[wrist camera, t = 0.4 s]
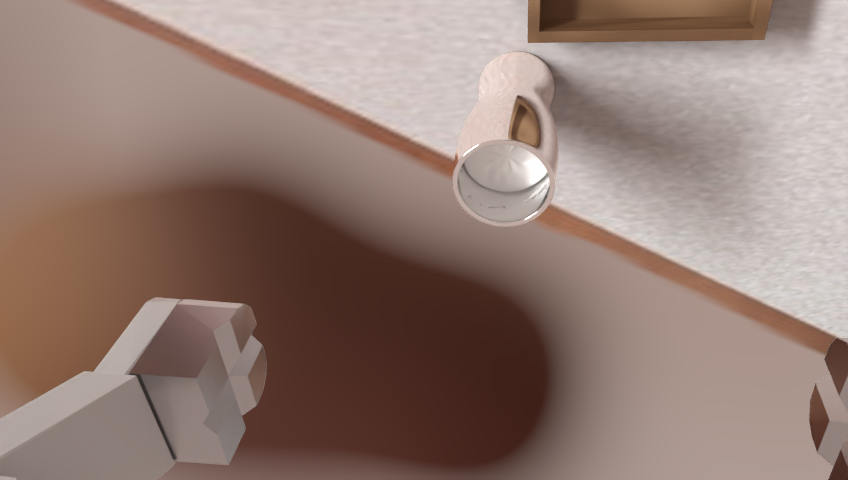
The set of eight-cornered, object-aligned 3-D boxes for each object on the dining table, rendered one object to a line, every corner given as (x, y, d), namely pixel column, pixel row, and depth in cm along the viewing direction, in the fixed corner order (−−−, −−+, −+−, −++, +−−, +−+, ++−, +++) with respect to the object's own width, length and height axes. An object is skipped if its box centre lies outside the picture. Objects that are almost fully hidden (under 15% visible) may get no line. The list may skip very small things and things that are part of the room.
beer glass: (575, 66, 54) (578, 163, 42) (536, 138, 58) (528, 244, 47) (494, 31, 54) (474, 119, 42) (460, 106, 58) (433, 205, 46)
